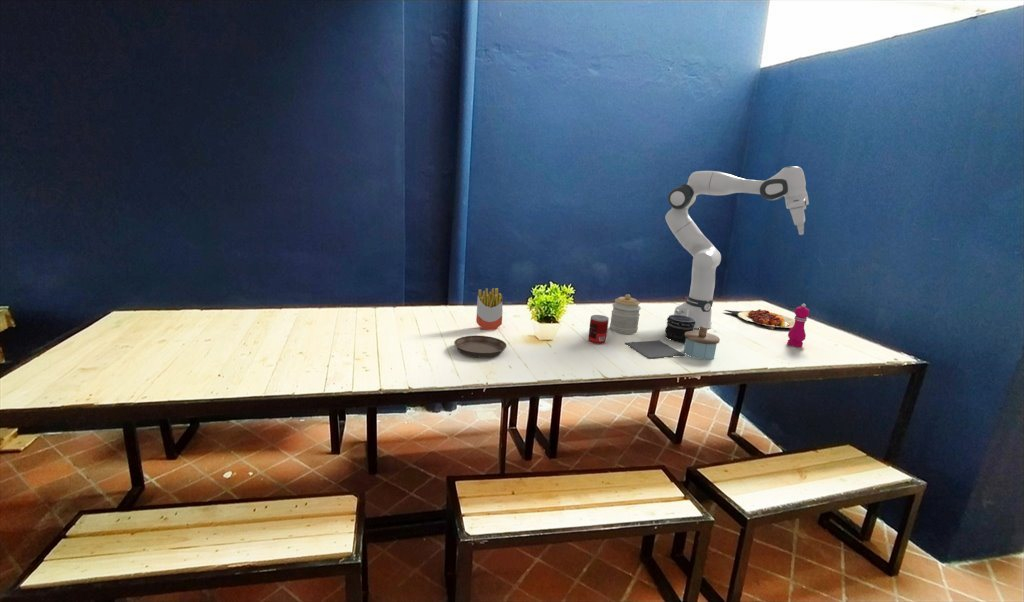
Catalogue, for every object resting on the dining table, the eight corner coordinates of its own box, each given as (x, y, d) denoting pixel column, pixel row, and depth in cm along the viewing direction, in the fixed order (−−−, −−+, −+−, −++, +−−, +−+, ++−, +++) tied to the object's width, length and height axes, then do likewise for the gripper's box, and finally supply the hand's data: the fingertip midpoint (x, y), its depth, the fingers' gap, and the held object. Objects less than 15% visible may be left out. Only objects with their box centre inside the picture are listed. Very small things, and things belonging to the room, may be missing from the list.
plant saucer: (471, 338, 219) (472, 331, 218) (515, 349, 210) (515, 341, 210) (443, 352, 202) (443, 344, 201) (489, 365, 193) (490, 356, 192)
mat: (624, 343, 226) (624, 342, 226) (659, 341, 233) (659, 340, 232) (648, 358, 210) (649, 357, 210) (685, 356, 216) (685, 354, 216)
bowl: (678, 349, 223) (680, 334, 222) (700, 348, 228) (703, 333, 226) (696, 360, 212) (699, 344, 211) (720, 358, 217) (723, 342, 215)
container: (678, 333, 247) (682, 313, 244) (698, 342, 236) (702, 321, 233) (658, 335, 241) (661, 314, 239) (677, 344, 230) (681, 323, 228)
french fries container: (501, 329, 233) (504, 290, 228) (478, 330, 230) (480, 290, 225) (499, 326, 237) (501, 288, 232) (475, 326, 234) (478, 288, 229)
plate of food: (720, 310, 294) (723, 298, 292) (782, 317, 293) (785, 306, 291) (741, 328, 264) (745, 315, 262) (810, 336, 263) (814, 323, 261)
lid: (677, 333, 222) (679, 322, 221) (703, 332, 227) (705, 321, 226) (699, 345, 209) (701, 333, 208) (726, 343, 214) (728, 331, 213)
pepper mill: (805, 348, 238) (815, 306, 233) (788, 346, 239) (798, 304, 234) (800, 343, 245) (809, 302, 240) (784, 341, 246) (793, 300, 241)
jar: (628, 325, 253) (633, 290, 248) (642, 334, 241) (647, 297, 237) (604, 326, 249) (608, 290, 244) (618, 335, 237) (622, 298, 232)
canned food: (607, 340, 229) (610, 316, 226) (603, 345, 222) (606, 321, 219) (591, 337, 232) (593, 313, 229) (585, 342, 225) (588, 317, 222)
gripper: (790, 203, 239) (795, 233, 240) (787, 205, 222) (792, 237, 223) (806, 200, 236) (810, 230, 237) (804, 202, 218) (809, 234, 220)
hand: (801, 233), depth 230 cm, fingers open, 8 cm apart
